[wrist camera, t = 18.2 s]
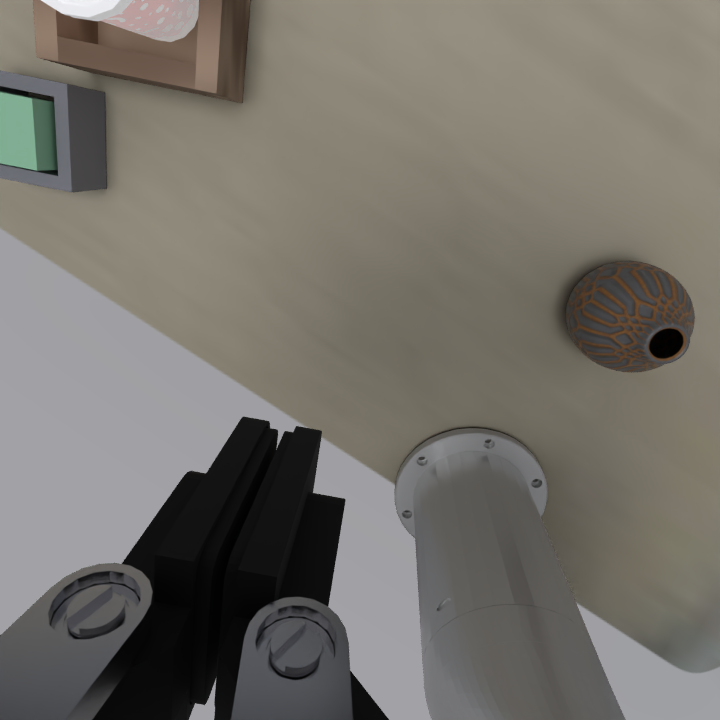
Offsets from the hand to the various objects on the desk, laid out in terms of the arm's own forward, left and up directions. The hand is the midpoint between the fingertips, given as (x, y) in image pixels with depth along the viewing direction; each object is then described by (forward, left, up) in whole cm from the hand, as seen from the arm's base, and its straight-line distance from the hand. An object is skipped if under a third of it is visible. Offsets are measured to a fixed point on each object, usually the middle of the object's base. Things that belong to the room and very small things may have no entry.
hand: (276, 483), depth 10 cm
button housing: (+4, +21, -26) cm, 34 cm away
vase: (0, -18, -27) cm, 32 cm away
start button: (+4, +21, -26) cm, 34 cm away
